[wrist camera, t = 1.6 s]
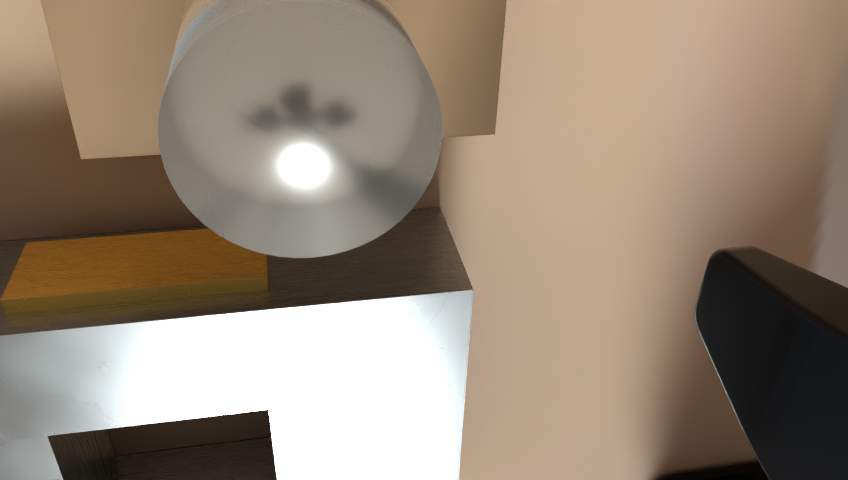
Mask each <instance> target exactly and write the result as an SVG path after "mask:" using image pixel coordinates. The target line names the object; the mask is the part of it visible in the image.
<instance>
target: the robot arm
mask: <svg viewBox="0 0 848 480" xmlns="http://www.w3.org/2000/svg"><path fill="white" fill-rule="evenodd" d="M695 321H696V325H697V328H698V331H699V334H700V336H701V338H702V340H703V343H704V345H705V347H706V349H707V352H708V354H709V356H710V358H711V361H712V363H713V365H714V367H715V370H716V372H717V374H718V376H719V378H720V381H721V383H722V385H723V387H724V390H725V392H726V394H727V396H728V399H729V401H730V403H731V405H732V408H733V410H734V412H735V414H736V417H737V419H738V421H739V423H740V426H741V428H742V430H743V432H744V434H745V436H746V438H747V440H748V442H749V444H750V446H751V448H752V450H753V452H754V454H755V455H756V457H757V459H758V461H759V463H754V464H747V465H740V466H733V467H727V468H720V469H713V470H706V471H700V472H693V473H686V474H679V475H672V476H668V477H665V478H663V479H661V480H848V288H846V287H844V286H842V285H839V284H837V283H835V282H833V281H830V280H828V279H826V278H824V277H821V276H819V275H817V274H815V273H812V272H810V271H808V270H806V269H803V268H801V267H799V266H796V265H794V264H792V263H790V262H787V261H785V260H783V259H781V258H778V257H776V256H774V255H772V254H769V253H767V252H765V251H762V250H760V249H758V248H755V247H751V246H743V247H734V248H725V249H720V250H717V251H715V252H714V253H713V254H712V256H711V257H710V259H709V261H708V264H707V268H706V271H705V275H704V278H703V282H702V285H701V289H700V292H699V296H698V299H697V303H696V307H695Z"/></svg>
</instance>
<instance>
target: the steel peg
mask: <svg viewBox="0 0 848 480" xmlns="http://www.w3.org/2000/svg"><path fill="white" fill-rule="evenodd" d="M442 137H443V125H442V113H441V107H440V102H439V98H438V95H437V92H436V89H435V86H434V84H433V82H432V80H431V78H430V76H429V74H428V71H427V69H426V68H425V66H424V64H423V62H422V60H421V58H420V56H419V54H418V52H417V51H416V49H415V47H414V45H413V43H412V41H411V39H410V37H409V35H408V34H407V32H406V30H405V28H404V26H403V24H402V22H401V20H400V18H399V17H398V15H397V13H396V11H395V9H394V7H393V5H392V3H391V1H390V0H186V4H185V8H184V12H183V16H182V20H181V24H180V28H179V32H178V36H177V40H176V44H175V48H174V52H173V56H172V60H171V64H170V68H169V72H168V76H167V81H166V85H165V89H164V93H163V97H162V101H161V106H160V111H159V117H158V140H159V149H160V154H161V158H162V162H163V165H164V169H165V171H166V173H167V176H168V178H169V180H170V183H171V185H172V186H173V188H174V190H175V191H176V193H177V195H178V196H179V198H180V199H181V201H182V202H183V203H184V204H185V206H186V207H187V208H188V209H189V211H190V212H191V213H192V214H193V215H194V216H195V217H196V218H198V219H199V220H200V221H201V222H202V223H203V224H204V225H205V226H207V227H208V228H209V229H211V230H212V231H214V232H215V233H216V234H218V235H220V236H221V237H223V238H225V239H227V240H228V241H230V242H232V243H234V244H237V245H239V246H241V247H244V248H246V249H249V250H252V251H256V252H259V253H262V254H267V255H273V256H278V257H289V258H314V257H321V256H328V255H333V254H337V253H341V252H345V251H348V250H351V249H353V248H356V247H359V246H362V245H364V244H366V243H368V242H370V241H372V240H374V239H376V238H377V237H379V236H380V235H382V234H384V233H385V232H387V231H388V230H390V229H391V228H392V227H393V226H395V225H396V224H397V223H398V222H399V221H401V220H402V219H403V218H404V217H405V216H406V215H407V214H408V213H409V212H410V211H411V210H412V209H413V207H414V206H415V205H416V203H417V202H418V201H419V199H420V198H421V197H422V195H423V194H424V192H425V190H426V189H427V187H428V185H429V183H430V182H431V179H432V177H433V174H434V172H435V170H436V167H437V164H438V160H439V156H440V152H441V145H442Z"/></svg>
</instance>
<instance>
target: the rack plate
mask: <svg viewBox="0 0 848 480" xmlns="http://www.w3.org/2000/svg"><path fill="white" fill-rule="evenodd" d="M472 300H473V288H472V285H471V283H470V280H469V278H468V275H467V273H466V270H465V268H464V266H463V263H462V261H461V258H460V256H459V253H458V251H457V248H456V246H455V243H454V241H453V238H452V236H451V233H450V231H449V228H448V226H447V223H446V221H445V218H444V216H443V213H442V211H441V208H430V209H417V210H411V211H410V212H409V213H408V214H407V215H406V216H405V217H404V218H403V219H402V220H401V221H399V222H398V223H397V224H396V225H395V226H393V227H392V228H391V229H390V230H388V231H387V232H385V233H384V234H382V235H380V236H379V237H377V238H376V239H374V240H372V241H370V242H368V243H366V244H364V245H362V246H359V247H356V248H353V249H351V250H348V251H345V252H341V253H337V254H333V255H328V256H321V257H314V258H289V257H278V256H273V255H267V254H262V253H259V252H256V251H252V250H249V249H246V248H244V247H241V246H239V245H237V244H234V243H232V242H230V241H228V240H227V239H225V238H223V237H221V236H220V235H218V234H216V233H215V232H214V231H212V230H211V229H209V228H208V227H207V226H196V227H183V228H170V229H157V230H144V231H131V232H118V233H105V234H92V235H79V236H66V237H53V238H40V239H27V240H14V241H1V242H0V480H458V479H459V467H460V454H461V441H462V428H463V415H464V403H465V390H466V377H467V364H468V351H469V339H470V326H471V313H472ZM262 410H268V411H269V419H270V427H271V435H272V437H267V438H259V439H251V440H244V441H236V442H228V443H220V444H212V445H204V446H196V447H188V448H180V449H172V450H164V451H156V452H148V453H140V454H132V455H124V456H116V457H115V455H114V451H113V448H112V445H111V441H110V438H109V435H108V431H107V429H111V428H119V427H127V426H136V425H144V424H153V423H161V422H169V421H178V420H186V419H195V418H203V417H211V416H220V415H228V414H237V413H245V412H253V411H262Z"/></svg>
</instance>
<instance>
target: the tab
mask: <svg viewBox="0 0 848 480" xmlns="http://www.w3.org/2000/svg"><path fill="white" fill-rule="evenodd" d="M390 1H391V3H392V5H393V7H394V9H395V11H396V13H397V15H398V17H399V18H400V20H401V22H402V24H403V26H404V28H405V30H406V32H407V34H408V35H409V37H410V39H411V41H412V43H413V45H414V47H415V49H416V51H417V52H418V54H419V56H420V58H421V60H422V62H423V64H424V66H425V68H426V69H427V71H428V74H429V76H430V78H431V80H432V82H433V84H434V86H435V89H436V92H437V95H438V98H439V102H440V107H441V113H442V125H443V137H458V136H475V135H491V134H495V127H496V116H497V104H498V92H499V81H500V69H501V57H502V46H503V34H504V22H505V11H506V0H390ZM41 3H42V7H43V11H44V15H45V19H46V23H47V27H48V31H49V35H50V39H51V43H52V47H53V51H54V54H55V58H56V62H57V66H58V70H59V74H60V78H61V82H62V86H63V90H64V94H65V98H66V102H67V106H68V110H69V114H70V118H71V121H72V125H73V129H74V133H75V137H76V141H77V145H78V149H79V153H80V157H81V159H95V158H111V157H128V156H144V155H161V154H160V149H159V140H158V117H159V111H160V106H161V101H162V97H163V93H164V89H165V85H166V81H167V76H168V72H169V68H170V64H171V60H172V56H173V52H174V48H175V44H176V40H177V36H178V32H179V28H180V24H181V20H182V16H183V12H184V8H185V4H186V0H41Z"/></svg>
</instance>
